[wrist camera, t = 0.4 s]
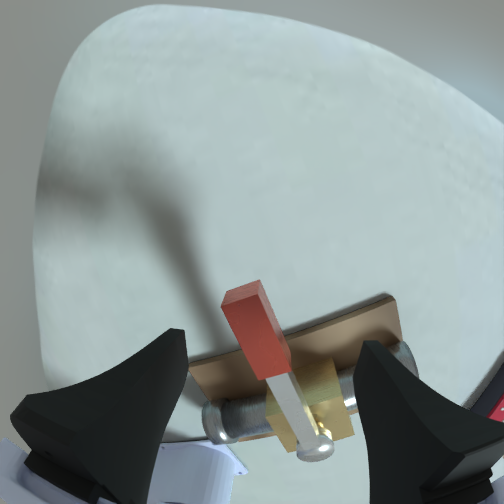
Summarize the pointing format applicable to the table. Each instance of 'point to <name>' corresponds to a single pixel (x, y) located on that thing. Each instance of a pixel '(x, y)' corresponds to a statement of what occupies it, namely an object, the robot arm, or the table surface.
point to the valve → (315, 393)
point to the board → (302, 352)
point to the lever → (274, 365)
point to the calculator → (492, 399)
